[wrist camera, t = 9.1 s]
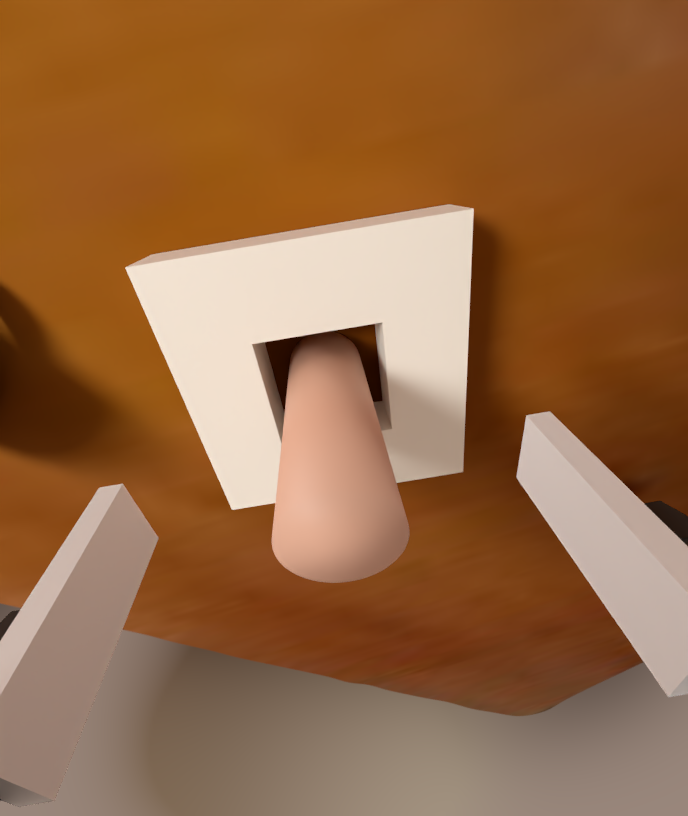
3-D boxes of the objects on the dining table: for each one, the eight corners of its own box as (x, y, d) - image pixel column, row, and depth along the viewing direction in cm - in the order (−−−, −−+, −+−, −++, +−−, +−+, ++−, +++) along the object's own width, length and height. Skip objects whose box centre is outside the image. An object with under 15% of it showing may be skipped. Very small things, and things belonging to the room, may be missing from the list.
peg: (282, 337, 20) (255, 504, 10) (355, 325, 20) (405, 479, 10) (298, 400, 22) (289, 591, 12) (364, 389, 22) (412, 571, 12)
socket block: (152, 254, 17) (125, 267, 15) (449, 204, 17) (473, 208, 15) (239, 475, 25) (232, 509, 22) (446, 441, 25) (462, 471, 22)
